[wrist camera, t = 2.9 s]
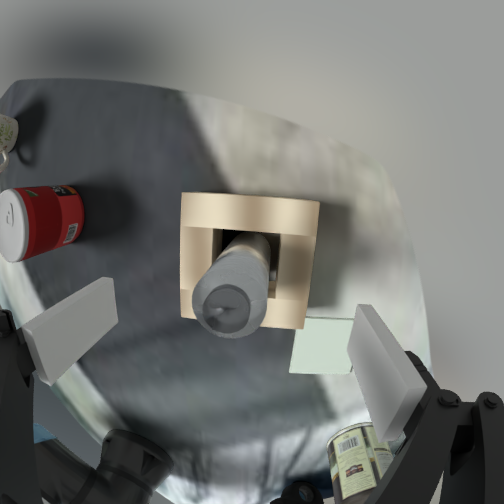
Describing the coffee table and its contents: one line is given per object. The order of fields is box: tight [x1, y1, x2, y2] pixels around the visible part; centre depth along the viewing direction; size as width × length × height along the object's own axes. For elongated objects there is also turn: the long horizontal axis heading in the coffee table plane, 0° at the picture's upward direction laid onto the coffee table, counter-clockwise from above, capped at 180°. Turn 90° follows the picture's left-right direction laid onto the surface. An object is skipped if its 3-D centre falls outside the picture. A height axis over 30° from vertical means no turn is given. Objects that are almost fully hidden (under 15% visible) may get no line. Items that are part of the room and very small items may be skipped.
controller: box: [270, 482, 324, 504], centre depth 34 cm, size 4×12×10 cm, turn 54°
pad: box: [289, 317, 354, 374], centre depth 31 cm, size 8×8×1 cm
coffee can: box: [327, 423, 393, 504], centre depth 28 cm, size 10×10×14 cm
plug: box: [192, 231, 271, 338], centre depth 22 cm, size 4×4×15 cm
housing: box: [180, 192, 320, 329], centre depth 27 cm, size 12×12×5 cm
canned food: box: [0, 185, 84, 263], centre depth 25 cm, size 8×8×11 cm
